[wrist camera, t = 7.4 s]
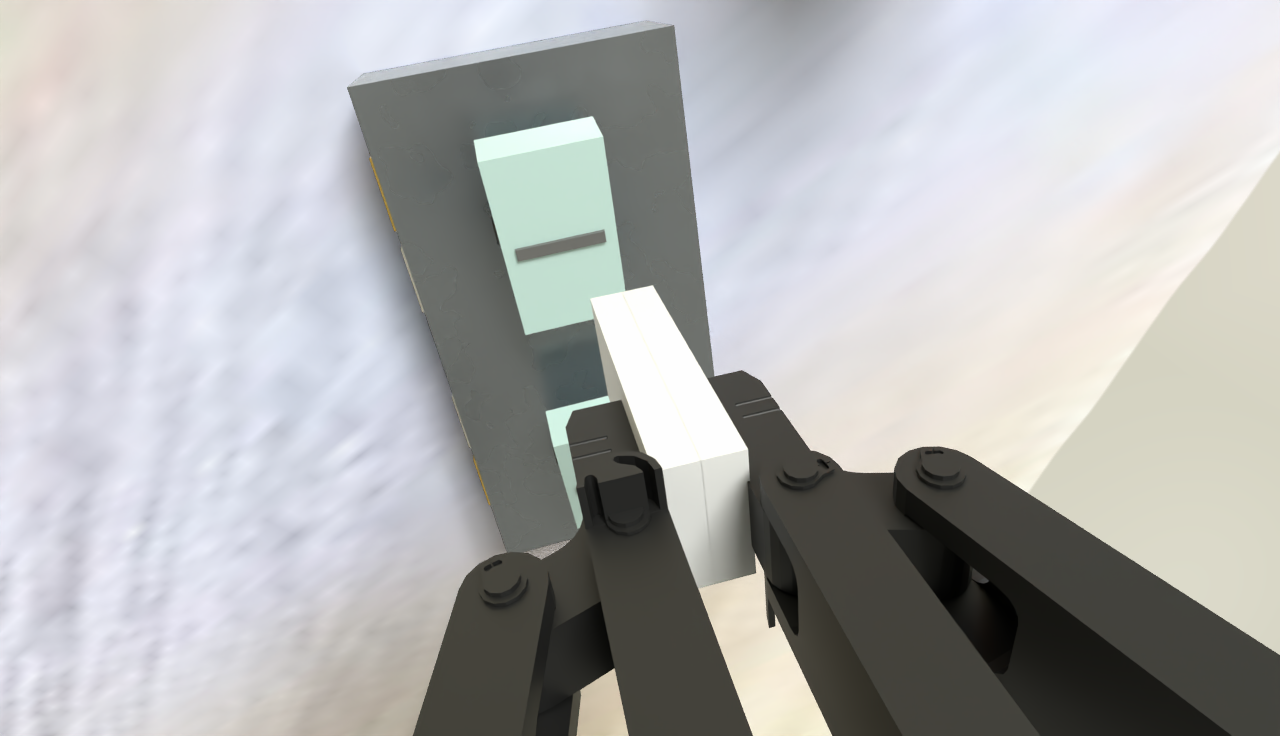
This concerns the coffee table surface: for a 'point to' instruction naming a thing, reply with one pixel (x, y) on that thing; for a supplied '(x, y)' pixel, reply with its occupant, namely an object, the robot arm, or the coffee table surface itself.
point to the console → (471, 252)
